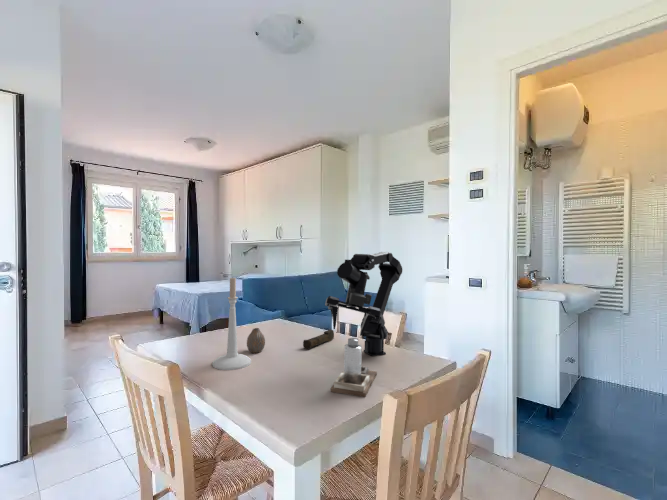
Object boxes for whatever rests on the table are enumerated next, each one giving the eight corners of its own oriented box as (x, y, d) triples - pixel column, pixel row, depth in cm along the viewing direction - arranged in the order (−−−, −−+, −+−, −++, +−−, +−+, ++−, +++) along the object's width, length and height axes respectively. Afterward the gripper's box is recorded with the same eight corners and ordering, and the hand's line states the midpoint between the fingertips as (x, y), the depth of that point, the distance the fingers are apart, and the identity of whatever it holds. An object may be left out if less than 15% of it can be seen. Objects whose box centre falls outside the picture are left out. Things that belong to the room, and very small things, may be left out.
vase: (242, 352, 129) (243, 329, 129) (253, 347, 136) (253, 325, 135) (258, 355, 127) (258, 331, 126) (268, 350, 133) (268, 327, 133)
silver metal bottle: (351, 378, 103) (352, 336, 103) (364, 383, 100) (365, 339, 99) (340, 383, 99) (341, 339, 99) (353, 388, 96) (354, 343, 96)
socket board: (346, 370, 112) (346, 363, 112) (376, 374, 109) (376, 366, 109) (330, 391, 96) (330, 382, 96) (365, 397, 93) (365, 387, 93)
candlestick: (256, 358, 123) (257, 275, 123) (241, 371, 111) (242, 279, 110) (223, 356, 125) (224, 274, 125) (205, 368, 113) (205, 278, 112)
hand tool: (310, 350, 133) (310, 339, 133) (302, 348, 136) (302, 337, 136) (338, 340, 148) (338, 329, 148) (331, 338, 151) (331, 328, 151)
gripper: (333, 276, 111) (322, 323, 106) (388, 290, 112) (380, 338, 107) (330, 282, 121) (319, 326, 116) (380, 295, 122) (372, 339, 117)
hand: (347, 332), depth 114 cm, fingers open, 9 cm apart
